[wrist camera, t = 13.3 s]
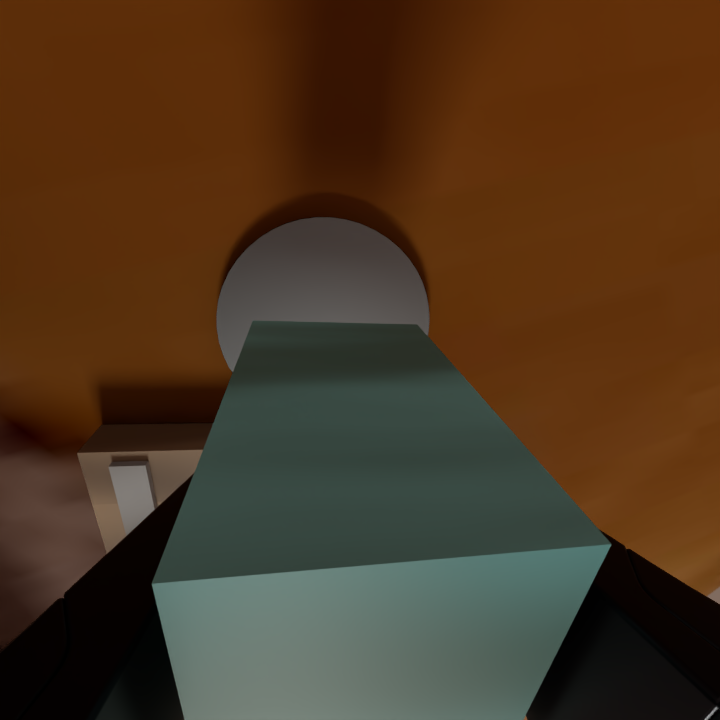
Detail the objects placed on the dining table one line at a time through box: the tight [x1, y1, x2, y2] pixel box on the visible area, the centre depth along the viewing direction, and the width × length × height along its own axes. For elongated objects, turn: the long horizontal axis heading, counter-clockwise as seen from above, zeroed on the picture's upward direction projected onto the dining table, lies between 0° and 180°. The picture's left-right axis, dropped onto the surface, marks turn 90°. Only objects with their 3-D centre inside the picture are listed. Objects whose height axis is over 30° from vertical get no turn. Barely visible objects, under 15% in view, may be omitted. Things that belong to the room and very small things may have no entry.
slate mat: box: [217, 217, 429, 372], centre depth 16 cm, size 9×9×1 cm
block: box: [152, 321, 611, 720], centre depth 7 cm, size 4×4×7 cm
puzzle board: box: [77, 423, 213, 553], centre depth 21 cm, size 24×14×2 cm, turn 176°
